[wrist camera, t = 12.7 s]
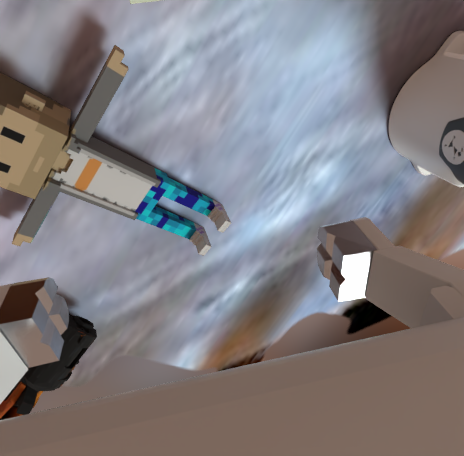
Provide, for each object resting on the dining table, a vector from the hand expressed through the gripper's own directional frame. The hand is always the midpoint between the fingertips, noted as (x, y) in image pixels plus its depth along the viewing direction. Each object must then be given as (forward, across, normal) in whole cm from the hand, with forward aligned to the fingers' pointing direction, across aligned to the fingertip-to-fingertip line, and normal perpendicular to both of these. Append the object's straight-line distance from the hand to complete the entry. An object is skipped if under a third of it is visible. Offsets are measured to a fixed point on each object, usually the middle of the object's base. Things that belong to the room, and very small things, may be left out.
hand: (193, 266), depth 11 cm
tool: (+34, +28, +39) cm, 59 cm away
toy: (+35, +9, +11) cm, 37 cm away
